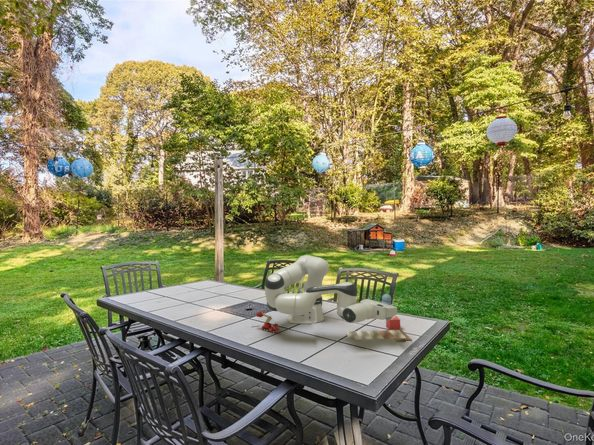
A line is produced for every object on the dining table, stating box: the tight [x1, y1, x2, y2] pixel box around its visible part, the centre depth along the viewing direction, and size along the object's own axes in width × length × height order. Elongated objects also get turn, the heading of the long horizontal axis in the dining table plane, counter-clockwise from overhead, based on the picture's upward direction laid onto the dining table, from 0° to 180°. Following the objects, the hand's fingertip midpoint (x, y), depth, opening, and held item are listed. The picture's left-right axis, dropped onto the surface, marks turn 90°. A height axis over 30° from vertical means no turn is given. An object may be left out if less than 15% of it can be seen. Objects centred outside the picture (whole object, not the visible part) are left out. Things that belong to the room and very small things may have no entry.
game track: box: [345, 328, 413, 343], centre depth 177 cm, size 34×14×1 cm, turn 94°
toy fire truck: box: [256, 311, 280, 334], centre depth 187 cm, size 3×14×10 cm, turn 59°
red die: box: [385, 315, 401, 330], centre depth 190 cm, size 6×6×6 cm
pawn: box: [381, 293, 392, 321], centre depth 177 cm, size 6×6×13 cm
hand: (387, 304), depth 177 cm, fingers closed on pawn, 4 cm apart
